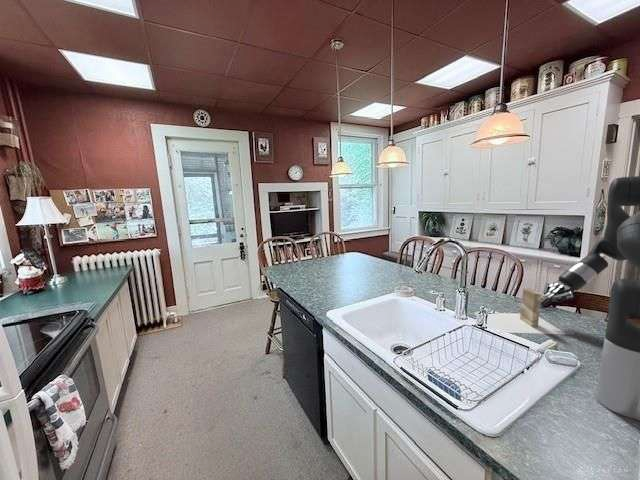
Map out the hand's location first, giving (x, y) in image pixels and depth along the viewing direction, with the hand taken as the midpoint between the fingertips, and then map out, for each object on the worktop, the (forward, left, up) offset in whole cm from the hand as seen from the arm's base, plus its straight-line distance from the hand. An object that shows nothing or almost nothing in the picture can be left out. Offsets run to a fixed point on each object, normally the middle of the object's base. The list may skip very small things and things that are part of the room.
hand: (541, 304), depth 110 cm
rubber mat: (+5, +8, -9) cm, 13 cm away
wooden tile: (+2, +3, -8) cm, 9 cm away
